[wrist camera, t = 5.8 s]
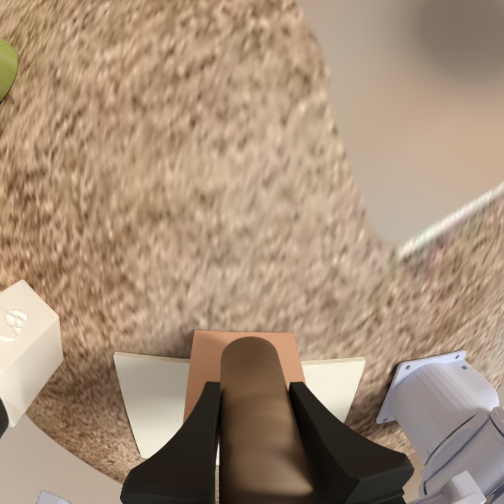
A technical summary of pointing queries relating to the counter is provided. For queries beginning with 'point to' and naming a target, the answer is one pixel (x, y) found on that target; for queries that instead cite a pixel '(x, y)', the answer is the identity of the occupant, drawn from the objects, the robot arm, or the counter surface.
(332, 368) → the board
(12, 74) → the plant pot
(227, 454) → the pestle
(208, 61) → the counter surface
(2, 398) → the jar
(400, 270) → the counter surface
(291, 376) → the tile
